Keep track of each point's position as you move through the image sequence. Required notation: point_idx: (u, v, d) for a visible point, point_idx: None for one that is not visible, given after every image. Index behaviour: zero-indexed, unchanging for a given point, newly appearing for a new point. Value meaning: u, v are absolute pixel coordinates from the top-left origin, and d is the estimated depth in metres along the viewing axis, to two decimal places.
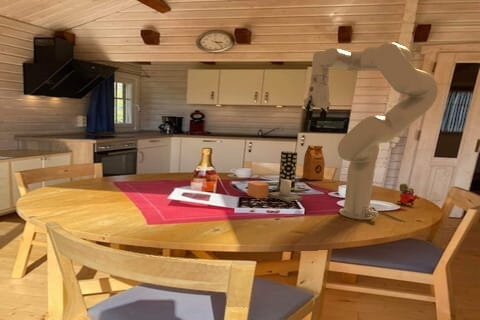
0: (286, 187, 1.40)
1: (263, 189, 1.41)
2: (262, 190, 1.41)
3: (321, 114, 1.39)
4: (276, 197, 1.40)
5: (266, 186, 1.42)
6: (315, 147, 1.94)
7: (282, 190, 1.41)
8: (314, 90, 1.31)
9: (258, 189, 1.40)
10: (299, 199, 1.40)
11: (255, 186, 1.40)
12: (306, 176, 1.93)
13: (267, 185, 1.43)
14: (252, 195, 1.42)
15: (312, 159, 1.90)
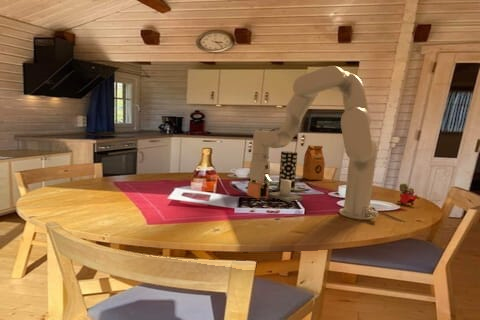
0: (286, 187, 1.40)
1: None
2: None
3: None
4: (276, 197, 1.40)
5: None
6: (315, 147, 1.95)
7: (282, 190, 1.41)
8: (269, 168, 1.40)
9: (258, 189, 1.40)
10: (299, 199, 1.40)
11: (255, 186, 1.40)
12: (306, 176, 1.93)
13: None
14: (252, 195, 1.42)
15: (312, 159, 1.90)
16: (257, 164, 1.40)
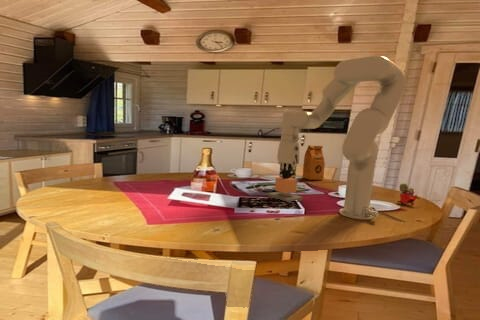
0: None
1: (292, 184, 1.39)
2: (291, 185, 1.39)
3: None
4: (276, 197, 1.40)
5: (294, 181, 1.40)
6: (315, 147, 1.95)
7: None
8: (298, 149, 1.37)
9: (287, 184, 1.38)
10: (299, 199, 1.40)
11: (284, 181, 1.38)
12: (306, 176, 1.93)
13: (295, 180, 1.41)
14: (280, 190, 1.40)
15: (312, 159, 1.90)
16: (287, 146, 1.37)
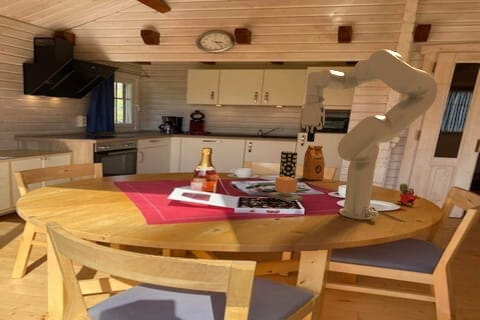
0: None
1: (292, 184, 1.39)
2: (291, 185, 1.39)
3: None
4: (276, 197, 1.40)
5: (294, 181, 1.40)
6: (315, 147, 1.95)
7: None
8: (324, 111, 1.35)
9: (287, 184, 1.38)
10: (299, 199, 1.40)
11: (284, 181, 1.38)
12: (306, 176, 1.93)
13: (295, 180, 1.41)
14: (280, 190, 1.40)
15: (312, 159, 1.90)
16: (312, 107, 1.35)
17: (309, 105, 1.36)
